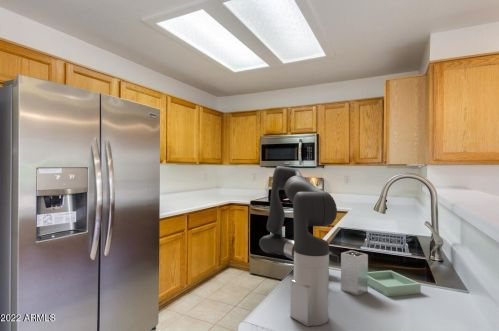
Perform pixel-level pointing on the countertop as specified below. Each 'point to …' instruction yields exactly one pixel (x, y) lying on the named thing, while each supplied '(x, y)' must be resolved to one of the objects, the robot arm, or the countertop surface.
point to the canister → (354, 272)
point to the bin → (392, 283)
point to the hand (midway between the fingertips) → (331, 261)
